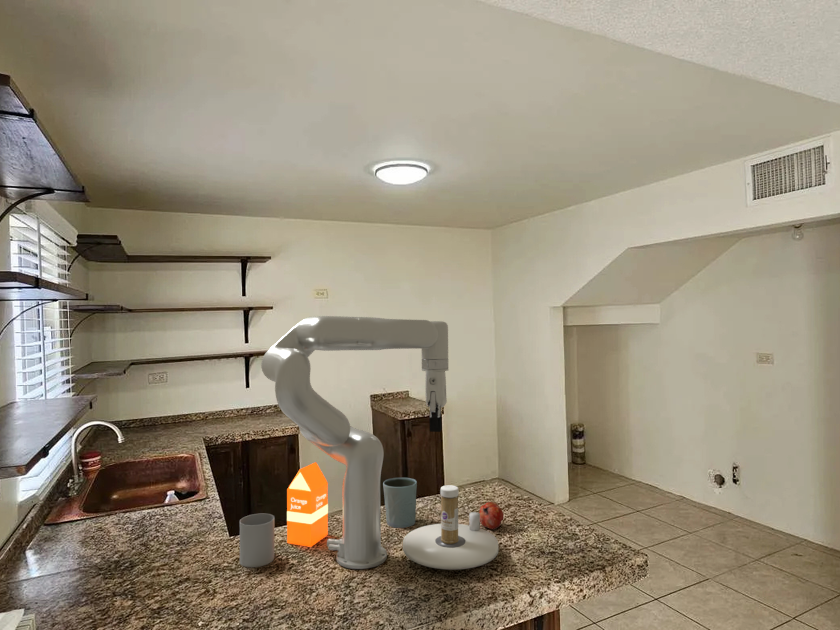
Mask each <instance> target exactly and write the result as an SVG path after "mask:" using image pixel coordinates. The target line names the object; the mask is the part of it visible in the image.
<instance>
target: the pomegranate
mask: <svg viewBox="0 0 840 630" xmlns="http://www.w3.org/2000/svg"><path fill="white" fill-rule="evenodd" d="M478 513H479V514H480V525H482V526H483V527H484V528H487V529H489V530H496V529H498V528H500V526H501V522H502V521H504V518H505V517H504V516H505V515H504V511H503V509H502V508H501V507H500V505H499V504H498V503H497V502H495V501H488V502H487V501H486V503H485V504H482V505H480V507H479V512H478Z"/></svg>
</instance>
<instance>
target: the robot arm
mask: <svg viewBox="0 0 840 630" xmlns="http://www.w3.org/2000/svg"><path fill="white" fill-rule="evenodd" d="M393 349H394V350H396V349H397V350H399V349H400V350H401V349H403V350H404V349H408V350H409V349H412V350H413V349H414V350H415V349H417V350H419V349H421V371H422V372H425V406H426V407H428V408H429V417H428V418H429V432H433V433H440V432H441V431H442V428H443V427H442V424H443V423H442V422H443V421H442V418H443V417H442V408H444V407H445V406H446V404H447V403H448V401H447V379H446V372H447V371H449V325H448V323H447V322H445V321H444V320H443V321H442V320H439V321H438V320H437V321H436V320H435V321H434V320H432V321H431V320H428V319H403V318H402V319H401V318H382V317H372V316H370V317H369V316H337V315H334V316H333V315H317V316H309V317H305V318H304V319H302V320H300V321H299V322H298V323H297V324H295V325H294V326H293V327H292V328H290V330H289V331H287V333H285V334H284V335H283V336H282V337H281V338H280V339H279V340H278V341H276V343H274V344H273V345H271V347H270V348H269V349H268V350H267V351H266V352H265V353H264V355H263V357H262V359H261V364H260V366H261V371H262V373H263V375H264V376H265V378H267V379H268V380H270V381H272V382H274V383H275V384H274V391H275V398H276V403H277V405H278V407H279V409H280V410H281V412H282V413H283V414H284V415H285V416H286V417H287V418H289V420H291V421H292V422H293V423H295V424H296V425H297V426H298V428H299V431H300V433H301V435H302V437H304V438H305V440H307V441H308V442H310V443H311V444H312V445H314V446H315V447H316V448H318V449H320V451H322V452H324V453H325V454H326V455H327V456H329V457H330V458H332V459H333V460H335V461H337V462H338V463H340V464H342V465H345V473H344V476H343V480H342V486H341V487H342V495H341V498H342V537H340V538H339V539H336V538H328V539H327V540H326V546H327V547H328V550H329V551H337V553H336V562H337V563H338V564H339V566H342V567H344V568H346V569H352V570H367V569H372V568H375V567H377V566H380V565H381V564H383V563H385V562H386V561H387V558H388V557H387V556H388V553H387V550H386V549H385V548H384V547H383V546H382V544H381V543H382V542H381V540H382V537H381V536H382V535H381V534H382V533H381V531H382V530H381V529H382V528H381V527H382V526H381V525H382V524H381V523H382V521H381V518H382V517H381V476H382V475H381V474H382V467H383V461H384V455H385V454H384V447H383V444H382V442H381V440H380V439H379V438H378V437H377V436H375V435H374V434H373V433H371V432H368V431H365V430H363V429H362V430H361V429H359V428H355V427H353V426H352V425H351V424H350V421H349V419H348V417H347V416H346V415H345V413H343V411H341V410H340V409H338V408H336V407H335V406H334V405H332V404H331V403H329V401H327V400H326V399H324V397H322V396H321V395H320V394H319V393H318V392H317V391H315V390H314V388H313V386H312V384H311V362H310V359H309V357H310V356H311V355H312V354H313V353H314V352H315V351H325V352H326V351H328V352H329V351H330V352H331V351H332V352H333V351H336V352H337V351H340V352H341V351H380V350H393Z"/></svg>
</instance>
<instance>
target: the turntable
mask: <svg viewBox="0 0 840 630" xmlns="http://www.w3.org/2000/svg"><path fill="white" fill-rule="evenodd" d="M468 515H469V516H468V517H469V519H468V520H469V521H468V523H469V524H463V523H458V538H459V541H458V542H456V543H454V544H446V543H443V542H442V541H441V523H434V524H428V525H424V526H420V527H418V528H415V529H413V530H411V531H410V532H408V533H407V534H406V535H405V536H404V538H403V540H402V551H403V553H404V555H405V556H406V558H408V559H409V560H411V561H412V562H414V563H416V564H418V565H421V566H424V567H427V568H432V569H439V570H465V569H466V570H467V569H473V568H476V567H480V566H484V565H486V564H487V563H490V562H492V561H493V560H494V559H495V558H496V557H497V555H498V554H499V541H498V539H497V537H496V536H495V535H494V534H493V533H492V532H490V531H488V530H486V529H484V528H481V522H480V514H479V512H475V511H471V512H469V514H468Z"/></svg>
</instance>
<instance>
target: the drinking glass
mask: <svg viewBox="0 0 840 630" xmlns="http://www.w3.org/2000/svg"><path fill="white" fill-rule="evenodd" d="M417 484H418V482H417V480H416V479H414V478H410V477H393V478H388V479H385V480H384V481H383V483H382V486H383V495H384V496H383V497H384V510H385V520H386V525H387V526H389V527H391V528H394V529H395V528H396V529H403V528H410V527H412V526H414V525H415V524H416V516H417V515H416V513H417V512H416V511H417V509H416V508H417V497H416V496H417V486H418V485H417Z"/></svg>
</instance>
